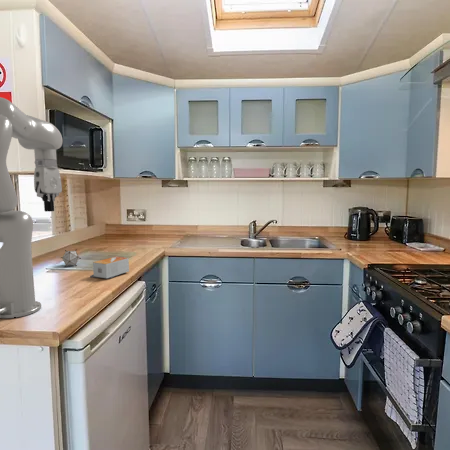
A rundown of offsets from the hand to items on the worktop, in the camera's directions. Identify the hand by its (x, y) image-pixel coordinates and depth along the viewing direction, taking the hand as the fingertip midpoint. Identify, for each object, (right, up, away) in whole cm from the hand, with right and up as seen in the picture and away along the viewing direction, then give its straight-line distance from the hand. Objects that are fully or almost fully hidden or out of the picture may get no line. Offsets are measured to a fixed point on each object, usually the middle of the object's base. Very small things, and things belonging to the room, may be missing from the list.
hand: (49, 211), depth 133 cm
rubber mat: (+18, -27, +15) cm, 36 cm away
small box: (+17, -25, +7) cm, 31 cm away
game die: (-6, -26, +31) cm, 41 cm away
